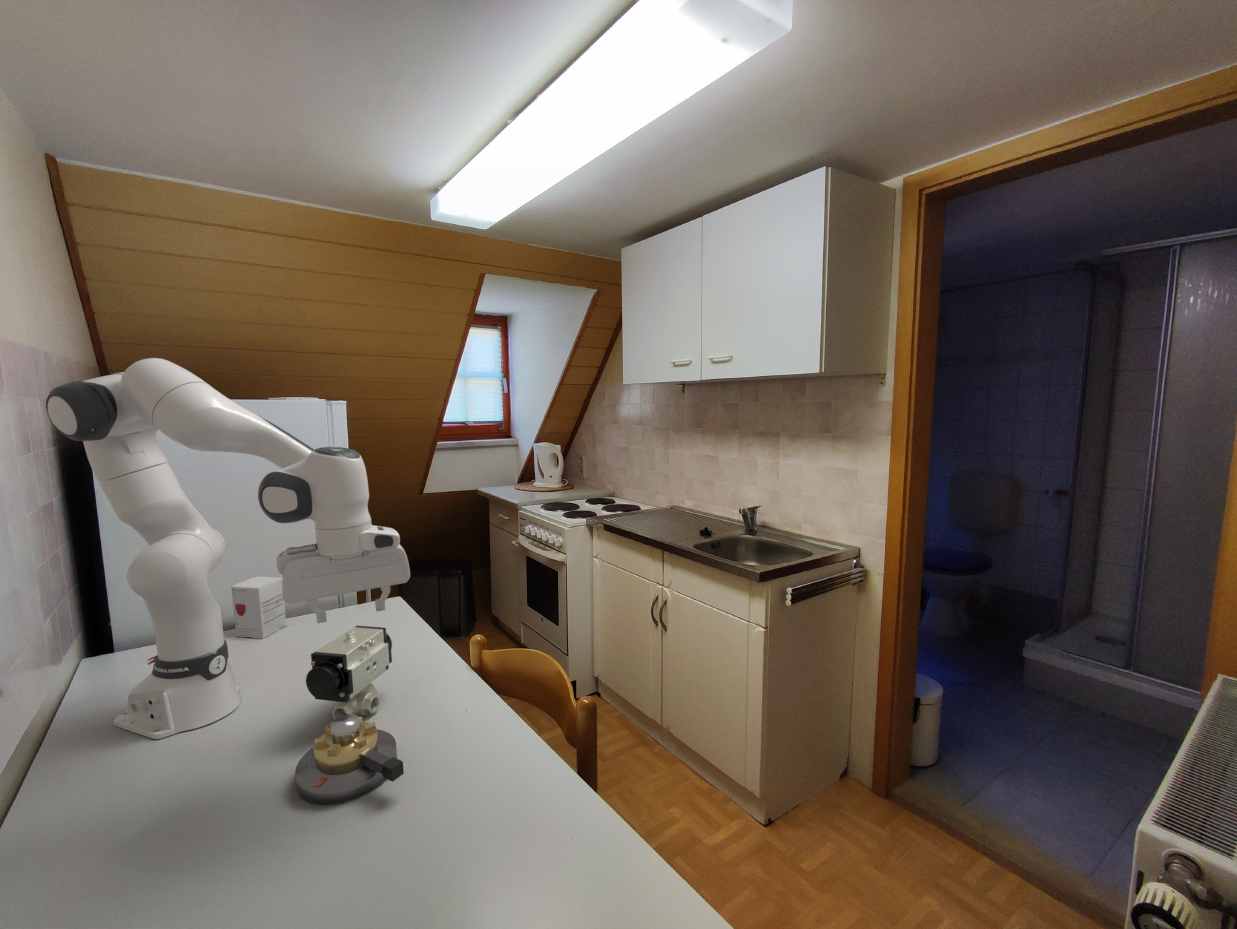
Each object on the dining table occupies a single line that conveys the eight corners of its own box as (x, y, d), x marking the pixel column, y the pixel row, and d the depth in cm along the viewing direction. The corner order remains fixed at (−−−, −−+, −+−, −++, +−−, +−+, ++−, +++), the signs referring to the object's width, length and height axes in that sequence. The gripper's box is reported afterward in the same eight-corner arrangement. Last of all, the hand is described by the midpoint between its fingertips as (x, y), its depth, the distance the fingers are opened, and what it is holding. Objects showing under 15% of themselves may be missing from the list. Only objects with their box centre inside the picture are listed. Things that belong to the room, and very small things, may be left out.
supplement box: (234, 637, 154) (229, 586, 152) (260, 624, 162) (255, 575, 160) (263, 639, 152) (258, 587, 150) (287, 626, 161) (283, 576, 159)
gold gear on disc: (273, 799, 91) (268, 745, 90) (338, 739, 106) (334, 693, 105) (361, 810, 88) (356, 754, 87) (414, 747, 104) (411, 699, 102)
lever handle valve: (302, 761, 95) (300, 739, 95) (355, 731, 104) (353, 710, 103) (371, 799, 86) (369, 774, 85) (422, 762, 94) (421, 739, 94)
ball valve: (347, 741, 106) (340, 654, 104) (309, 736, 108) (301, 650, 105) (401, 691, 123) (396, 616, 121) (368, 688, 125) (362, 614, 123)
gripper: (274, 554, 88) (283, 635, 90) (408, 535, 98) (414, 609, 100) (276, 545, 93) (284, 622, 95) (403, 528, 103) (408, 598, 105)
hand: (352, 615), depth 98 cm, fingers open, 8 cm apart
